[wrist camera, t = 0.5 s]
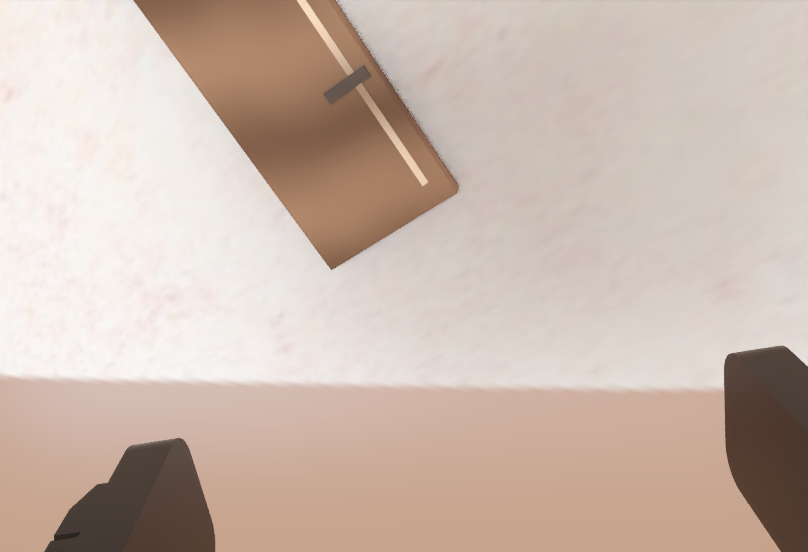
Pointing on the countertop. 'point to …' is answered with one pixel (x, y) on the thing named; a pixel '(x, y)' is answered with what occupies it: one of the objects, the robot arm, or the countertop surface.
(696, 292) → the countertop surface
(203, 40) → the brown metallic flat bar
